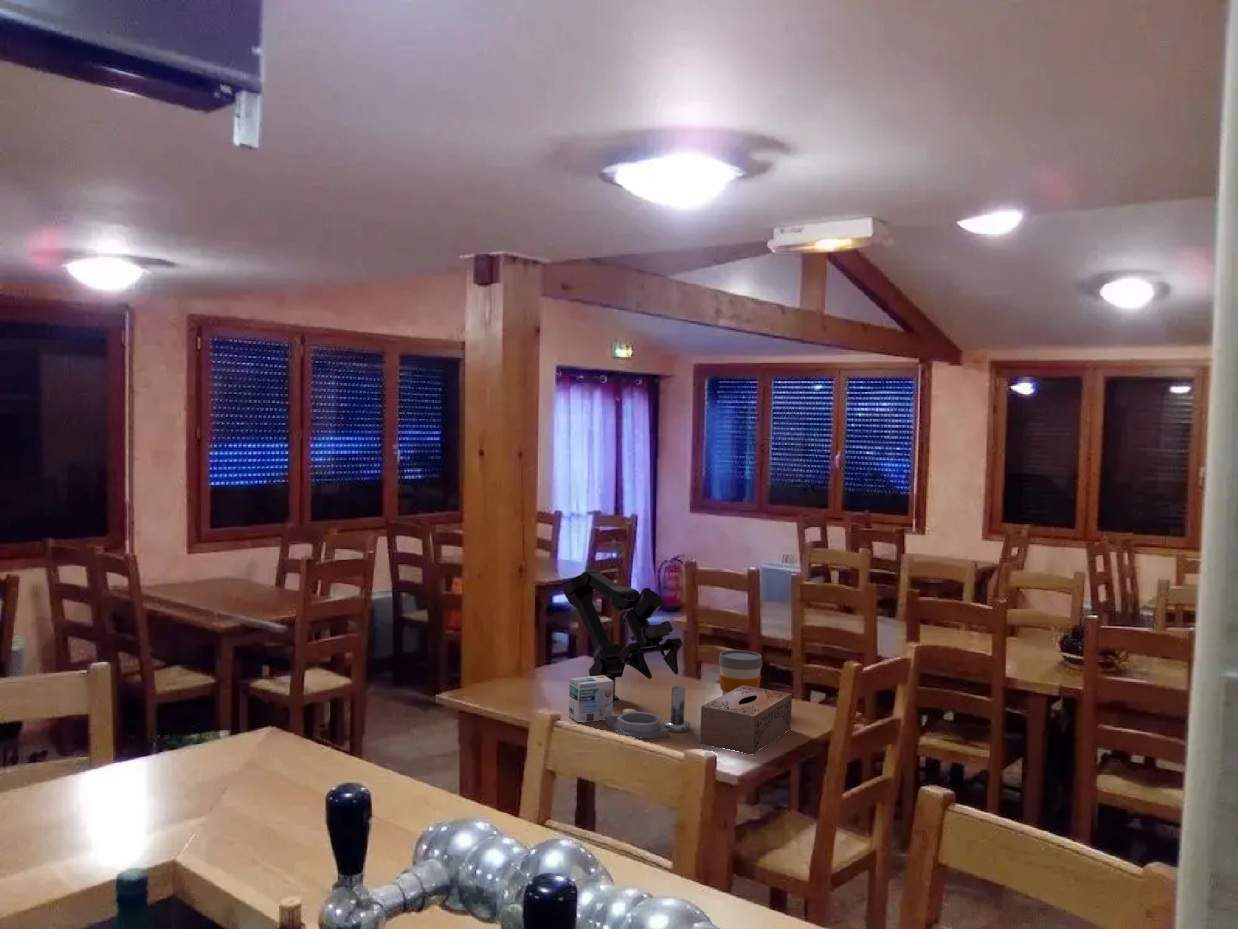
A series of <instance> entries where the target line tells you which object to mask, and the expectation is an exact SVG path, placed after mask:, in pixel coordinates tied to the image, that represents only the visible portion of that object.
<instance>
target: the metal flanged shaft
mask: <svg viewBox="0 0 1238 929" xmlns="http://www.w3.org/2000/svg"><path fill="white" fill-rule="evenodd" d="M685 699H686V687H685V686H682V685H674V686H671V698H670V700H671V701H670V718H669V719H666V720H664V722H663V727H664V728H666V729H667V730H668V731H669V733H670V732H672V733H686V732H689V731H690V730H691V722H690V721H688V720H685V706H686V705H685V703H686V702H685Z"/></svg>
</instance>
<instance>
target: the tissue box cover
mask: <svg viewBox="0 0 1238 929" xmlns="http://www.w3.org/2000/svg"><path fill="white" fill-rule="evenodd" d="M792 704H793V694H792V693H788V692H783V691H779V690H773V689H766V688H762V687H761V688H760V687H759V688H756V687H750V686H745V685H742V686H740V687H738V688H736V689H734V690H732V691H730V692H728V693H726V694H724V695H720V696H718V697H717V698H714V699H713V700H710V701H709V702H707V703H705V704H703V705H701V708H700V729H699V731H700V732H699V733H700V734H699V745H702V746H708V747H711V746H714V747H713V748H716V747H717V748H716V749H720V748H725V749H730V750H735V751H739V752H743V753H742V754H744V753H746V754H745V755H748V754H754V753H755V754H757V753H758V752H759V751H758V750H759V749H761V748H763V747H764V748H766V747H767V746H769V745H770V744H771V743H770V742H772V743H773V742H774V740H775V739H776V740H777V738H778V737H779V736H780V737H782V736H784V735H785V734H786V733H787V732H786V731H788V730H789V731H791V730H792V727H791V726H792V706H793V705H792ZM790 729H791V730H790ZM789 731H788V732H789ZM785 732H786V733H785ZM784 733H785V734H784ZM781 735H782V736H781ZM780 737H779V738H780ZM779 738H778V739H779ZM776 740H775V741H776ZM769 743H770V744H769ZM768 744H769V745H768ZM766 745H767V746H766ZM765 746H766V747H765ZM764 748H763V749H764ZM725 749H724V750H725ZM730 750H729V751H730ZM761 750H762V749H761ZM757 751H758V752H757ZM739 752H738V753H739ZM756 752H757V753H756ZM755 754H754V755H755Z"/></svg>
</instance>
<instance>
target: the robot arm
mask: <svg viewBox="0 0 1238 929" xmlns="http://www.w3.org/2000/svg"><path fill="white" fill-rule="evenodd" d="M562 588H563V589H562V590H563V594H564V596H565V598H566V599H567V601H568V603H569V604H570V605H571V606H572V607H574V608H575V609H576V610H577V611H578V613H579V616H580V619H581V620H582V622H583V623H582V624H583V625H584V627H585V630H586V632H587V635H588V637H589V639H590V641H591V644H592V646H593V648H594V653H593V654H594V655H593V664H592V665H591V666H590V668H589V669H588V673H589V677H590V676H600V675H604V676H606V677H607V678H609V679H611V680H613V681H614V685H613V701H619V700H620V697H618V696H617V695H616V678H622V677H623V674H624V670H625V667H626V665H628V666H630V667H632V668H633V669H634V670H637V671H638V672H639V673H641V674H642V675H643V676H644V677H646V678H647V679H648V680H652V678H653V675H652V673H651V670H650V669H649V666H648V664H647V662H646V660H645V655H646V654H654V653H661V656H663V660H664V662H665V663H666V665H667V666H668V668H669V669H670V670H671V672H673V673H674V675H675V676H678V674H679V665H678V652H680V650H681V648H682V647H683V646H684V642H683V641H682V639H681V638H680V637H678V636H677V637H676V636H675V637H669V638H667V639H666V640H665V641H664V642H663V643H660V642H662V641H663V640H664V637H666V636H669V635H670V633H672V632H673V631H674V629H673V625H672V623H671V622H670V620H665V621H663V622H660V623H658V624H651V623H650V622H649V620H648V619H650V618H652V617H653V616H654V615H655V613H656V612H657V611H658V610H659V609H660V608H661V606H662V604H663V599H662V597H661V596H660V595H659V593H657V592H656V591H653V590H651V588H650V587H644V588H642V590H641V592H639V590H637V589H636V588H632V587H629V586H623V585H622V586H621V585H619V584H618V583H616V582H615V581H613V580H611V579H609V578H608V577H606V576H605V575H604V574H602V573H601V571H599V570H586V571H583V572H582V573H581V574H579V575H577V576H576V577H573V578H571V579H569V580H567V581H566V582H565V584H564V585H563V587H562ZM594 591H597V592H599V593H600V594H601V595H604V596H605V597H606V598H608V599H609V603H610V605H611V606H612V607H613V608H614V609H615V610H616V611H618V612H620V611H622V612H623V611H627V612H626V613H624V614H623V615H622V619H621V621H620V622H621V625H627V627H628V628H629V631H630V633H631V635H632V636H631V637H630V640H631V642H630V643H626V644H625V646H624V647H623V648H622V649H621V646H620V645H619V643H615V644H613V643H612V642H611V641H610V639H609V636H608V634H607V632H606V629H605V628H604V625H603V622H602V619H601V618H600V616H599V613H598V612H597V610H596V606H595V604H594V602H593V600H594V595H595V592H594ZM634 641H635V642H634Z"/></svg>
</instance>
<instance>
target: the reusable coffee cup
mask: <svg viewBox="0 0 1238 929" xmlns="http://www.w3.org/2000/svg"><path fill="white" fill-rule="evenodd" d="M718 657H719V658H718V665H719V672H718V675H719V676H718V677H719V688H720V689H721V694H722V695H724V694H726V693H728V692H730V691H732V690H734V689H736V688H738V687H740V686H742V685H745V686H750V687H756V688H760V682H761V679H762V676H761V669H762V667H763V659H762V657H763V656H762V654H760V653H757V652H755V651H751V650H744V649H743V650H740V649H730V650H724V651H721V652H720V653H719V656H718ZM722 695H721V696H722Z"/></svg>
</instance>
